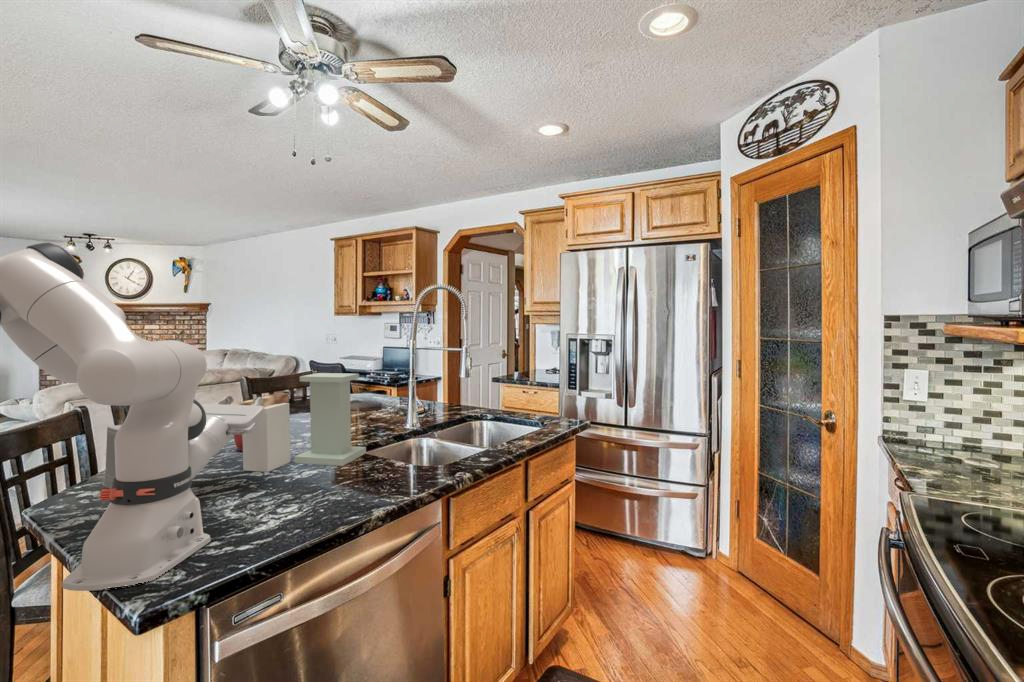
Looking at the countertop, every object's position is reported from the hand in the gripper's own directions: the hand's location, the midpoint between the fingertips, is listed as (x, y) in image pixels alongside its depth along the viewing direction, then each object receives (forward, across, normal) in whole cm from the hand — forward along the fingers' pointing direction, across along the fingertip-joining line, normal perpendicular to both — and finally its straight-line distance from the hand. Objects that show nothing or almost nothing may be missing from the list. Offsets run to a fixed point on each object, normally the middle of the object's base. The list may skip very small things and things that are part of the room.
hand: (245, 398), depth 133 cm
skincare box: (-23, +23, +12) cm, 35 cm away
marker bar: (+2, 0, +5) cm, 6 cm away
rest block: (-4, 0, +23) cm, 23 cm away
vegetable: (+10, +18, +31) cm, 37 cm away
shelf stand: (+6, -14, +28) cm, 32 cm away
